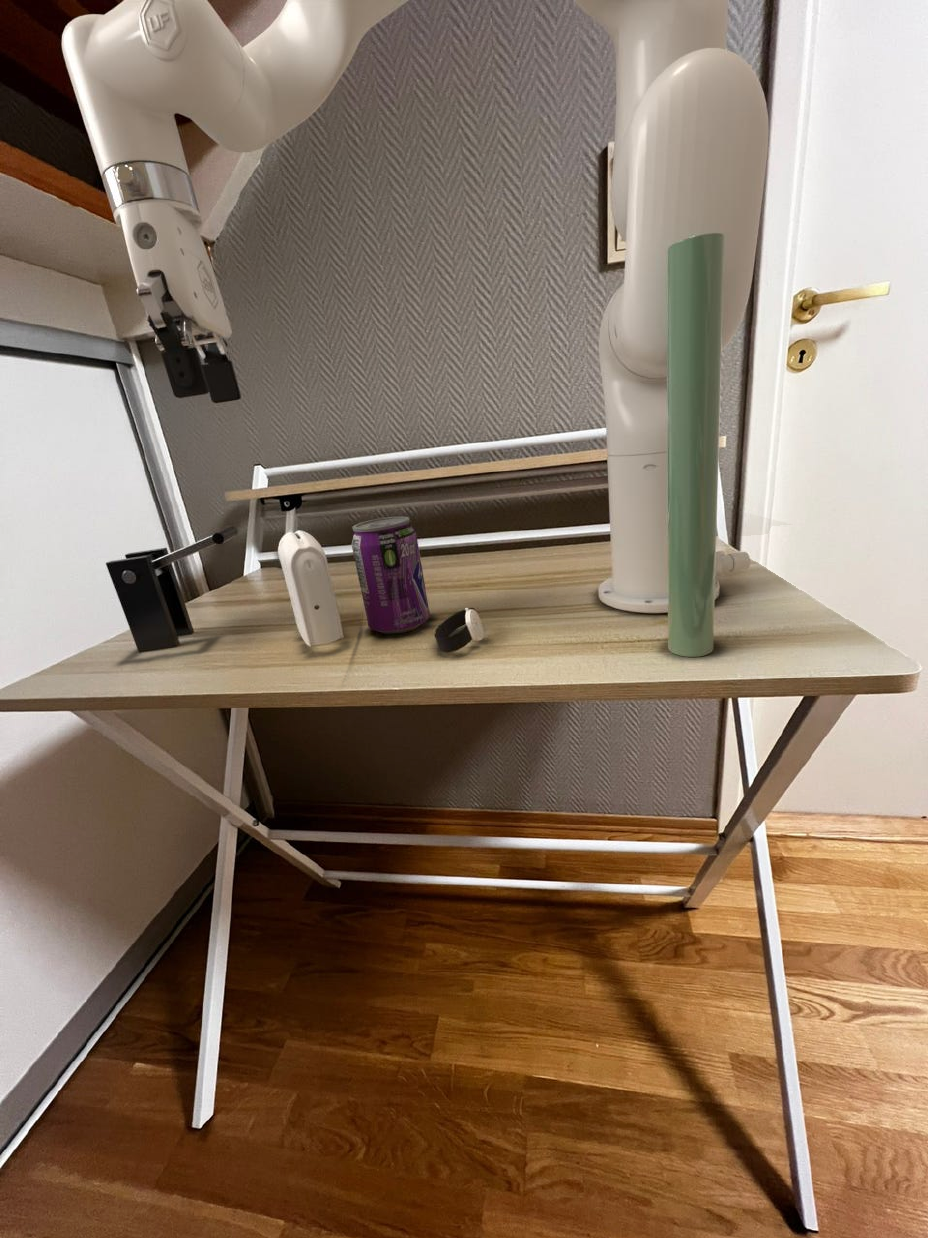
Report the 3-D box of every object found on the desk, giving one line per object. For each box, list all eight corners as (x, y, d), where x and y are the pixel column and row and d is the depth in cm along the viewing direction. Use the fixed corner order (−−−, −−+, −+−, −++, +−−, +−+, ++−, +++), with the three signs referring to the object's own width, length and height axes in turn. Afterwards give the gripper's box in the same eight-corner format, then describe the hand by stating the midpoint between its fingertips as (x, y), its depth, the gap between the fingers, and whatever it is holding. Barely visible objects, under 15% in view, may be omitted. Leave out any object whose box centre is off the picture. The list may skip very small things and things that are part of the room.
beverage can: (421, 636, 57) (402, 525, 53) (360, 639, 59) (336, 532, 55) (437, 613, 64) (421, 512, 60) (382, 616, 66) (362, 519, 62)
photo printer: (350, 647, 57) (324, 533, 53) (310, 659, 56) (280, 542, 51) (331, 622, 66) (308, 522, 62) (296, 631, 65) (270, 530, 60)
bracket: (217, 635, 67) (188, 543, 63) (197, 654, 62) (164, 555, 58) (145, 646, 67) (111, 554, 63) (119, 666, 61) (80, 567, 57)
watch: (475, 657, 51) (470, 621, 49) (427, 658, 52) (421, 623, 50) (489, 626, 58) (485, 594, 56) (447, 628, 59) (442, 597, 57)
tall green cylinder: (700, 637, 48) (707, 247, 38) (721, 653, 45) (735, 229, 34) (661, 643, 48) (657, 253, 38) (679, 659, 45) (680, 236, 34)
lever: (242, 538, 63) (231, 519, 62) (229, 546, 58) (217, 526, 58) (147, 579, 63) (135, 560, 63) (127, 589, 59) (114, 570, 58)
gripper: (151, 154, 42) (217, 386, 48) (226, 231, 59) (268, 397, 64) (56, 168, 42) (134, 399, 48) (157, 241, 59) (206, 407, 64)
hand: (211, 398), depth 56 cm, fingers open, 9 cm apart
